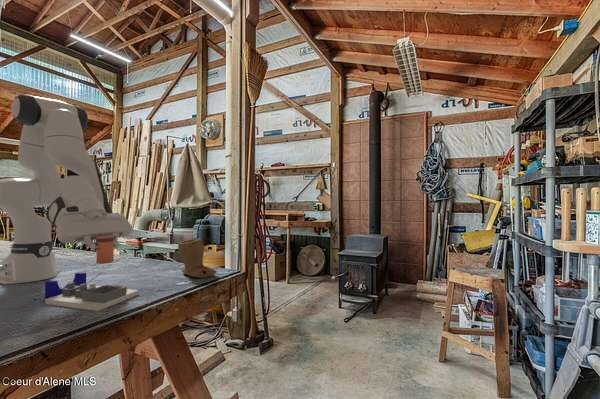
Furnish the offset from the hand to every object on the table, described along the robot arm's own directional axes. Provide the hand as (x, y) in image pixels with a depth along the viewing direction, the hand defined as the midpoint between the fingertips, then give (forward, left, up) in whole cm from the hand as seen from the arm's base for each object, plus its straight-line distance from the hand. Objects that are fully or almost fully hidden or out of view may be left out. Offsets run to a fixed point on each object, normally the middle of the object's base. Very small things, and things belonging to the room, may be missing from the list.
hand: (106, 247), depth 94 cm
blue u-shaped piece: (-20, +3, -17) cm, 27 cm away
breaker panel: (-7, +2, -17) cm, 18 cm away
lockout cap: (-1, 0, -4) cm, 4 cm away
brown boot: (+6, +36, -17) cm, 40 cm away
